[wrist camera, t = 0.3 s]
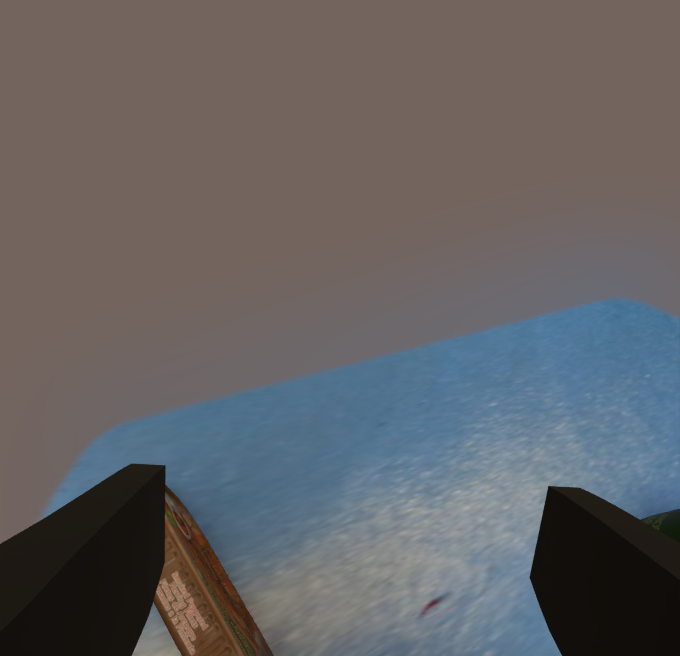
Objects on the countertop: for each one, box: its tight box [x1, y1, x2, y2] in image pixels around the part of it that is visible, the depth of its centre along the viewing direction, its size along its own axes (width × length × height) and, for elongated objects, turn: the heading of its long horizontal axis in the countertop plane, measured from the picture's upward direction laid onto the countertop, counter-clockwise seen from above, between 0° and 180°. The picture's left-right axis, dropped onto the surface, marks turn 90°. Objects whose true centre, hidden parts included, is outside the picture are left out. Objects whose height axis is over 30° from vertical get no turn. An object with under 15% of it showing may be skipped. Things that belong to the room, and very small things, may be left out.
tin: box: [153, 485, 273, 656], centre depth 30 cm, size 15×3×8 cm, turn 36°
